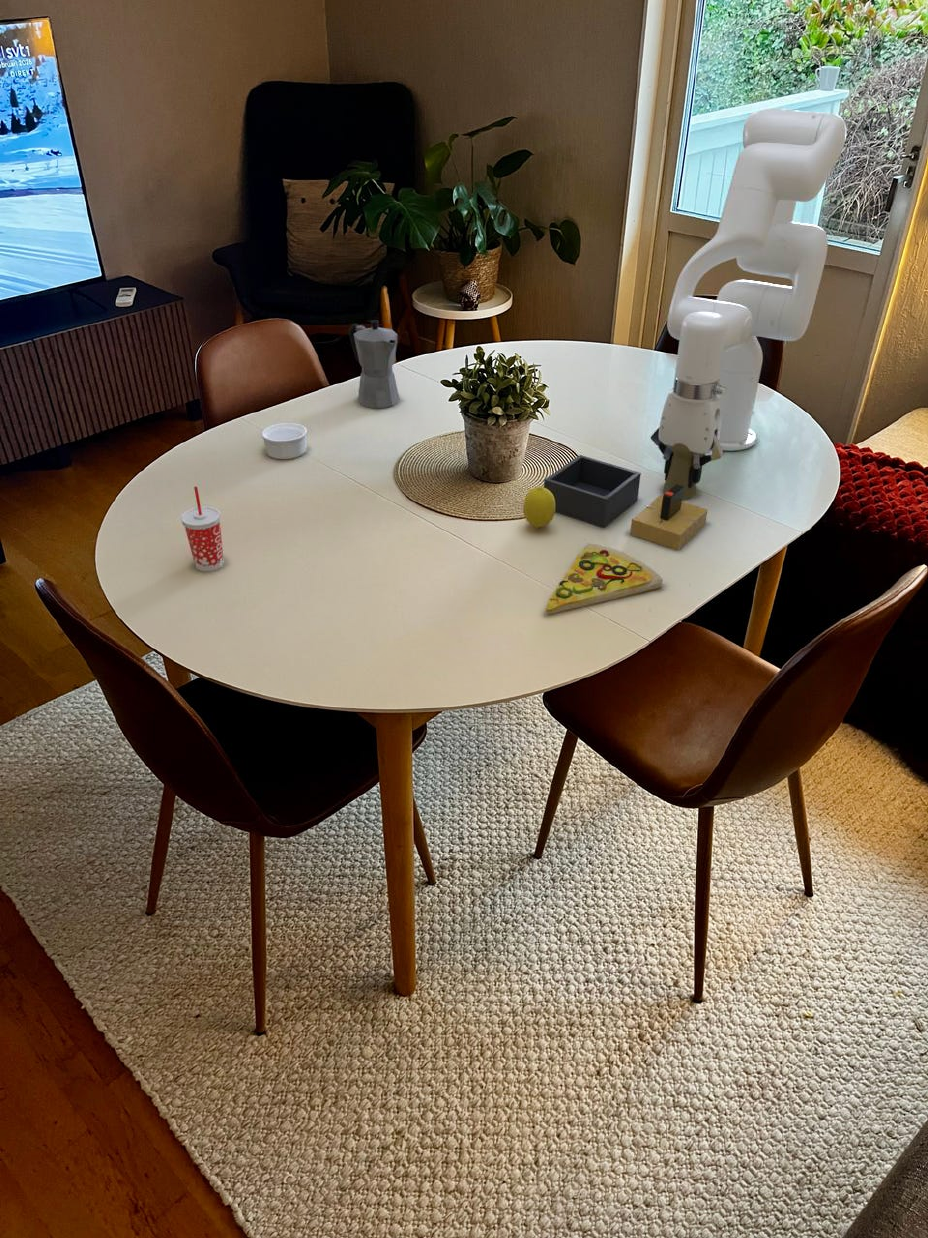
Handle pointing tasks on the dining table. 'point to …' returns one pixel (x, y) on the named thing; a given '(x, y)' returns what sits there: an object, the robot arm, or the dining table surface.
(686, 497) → the cork
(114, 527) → the dining table surface
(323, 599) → the dining table surface
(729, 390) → the robot arm
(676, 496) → the tap handle
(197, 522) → the beverage cup
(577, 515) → the sink basin
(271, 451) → the ramekin
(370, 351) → the coffeepot
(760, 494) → the dining table surface
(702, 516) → the block
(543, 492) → the lemon
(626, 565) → the pizza slice
